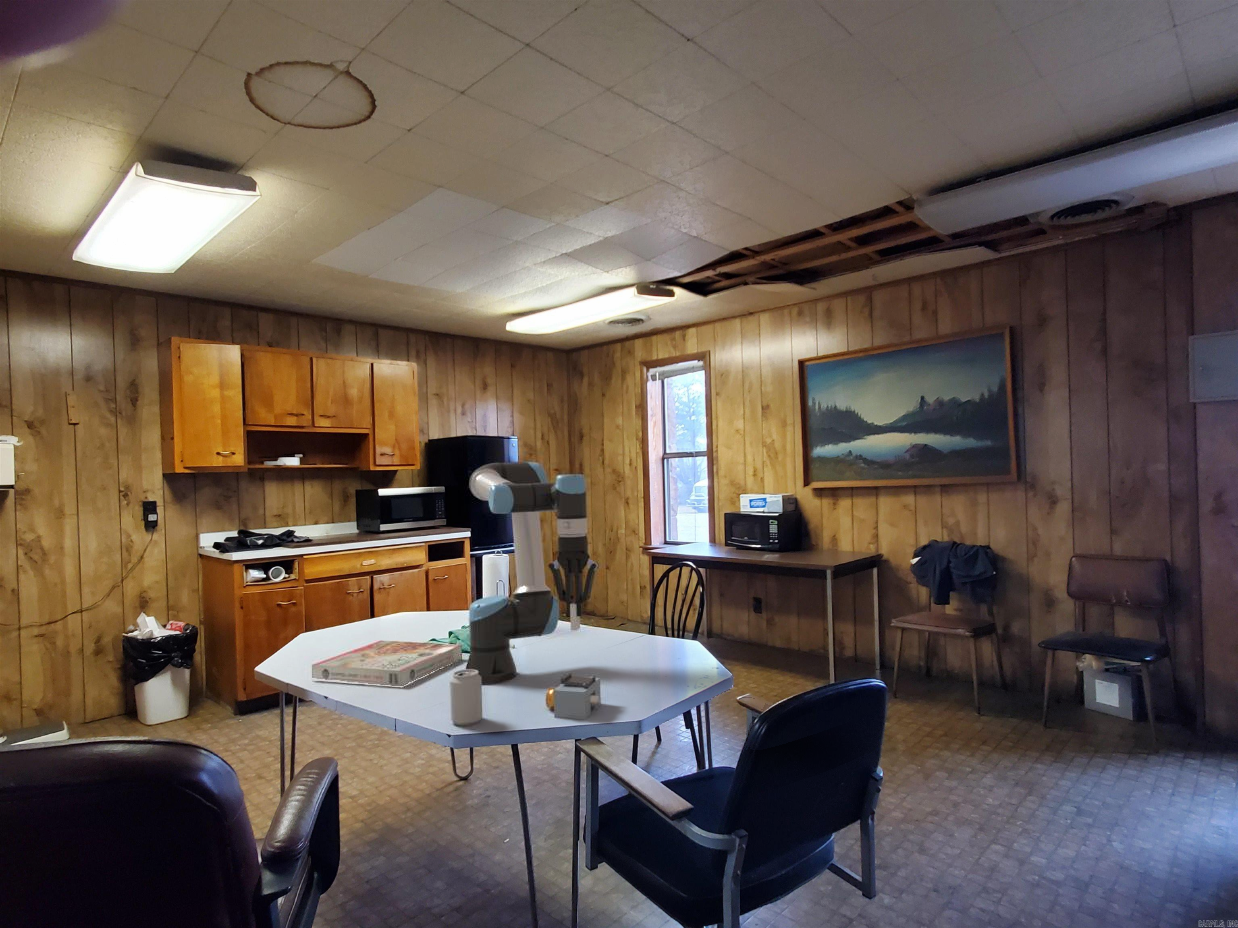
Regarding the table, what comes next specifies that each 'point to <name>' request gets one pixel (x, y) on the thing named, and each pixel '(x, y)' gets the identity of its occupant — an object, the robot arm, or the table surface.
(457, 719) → the can
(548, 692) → the pin
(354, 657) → the pizza box
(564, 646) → the table surface
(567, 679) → the plate
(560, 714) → the bracket
